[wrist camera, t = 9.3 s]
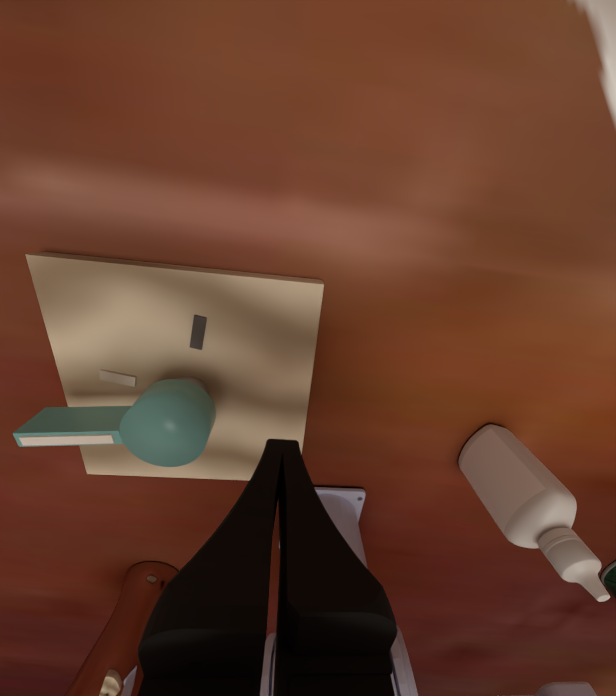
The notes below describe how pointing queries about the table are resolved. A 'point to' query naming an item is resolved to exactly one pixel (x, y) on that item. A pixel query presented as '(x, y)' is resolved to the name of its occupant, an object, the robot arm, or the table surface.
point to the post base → (183, 350)
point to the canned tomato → (610, 578)
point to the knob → (133, 424)
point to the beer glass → (123, 636)
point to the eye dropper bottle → (529, 504)
